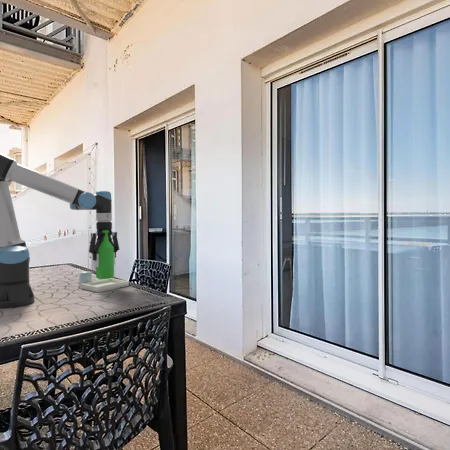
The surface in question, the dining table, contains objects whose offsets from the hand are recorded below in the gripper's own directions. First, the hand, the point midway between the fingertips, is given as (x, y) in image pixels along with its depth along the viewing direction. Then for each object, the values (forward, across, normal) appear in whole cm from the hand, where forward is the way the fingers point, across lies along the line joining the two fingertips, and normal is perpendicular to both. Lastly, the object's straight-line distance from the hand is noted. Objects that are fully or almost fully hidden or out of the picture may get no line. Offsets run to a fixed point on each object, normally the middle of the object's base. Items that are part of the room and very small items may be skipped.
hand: (104, 265), depth 166 cm
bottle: (+7, 0, 0) cm, 7 cm away
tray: (+11, 0, 0) cm, 11 cm away
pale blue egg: (+11, -4, +12) cm, 17 cm away
